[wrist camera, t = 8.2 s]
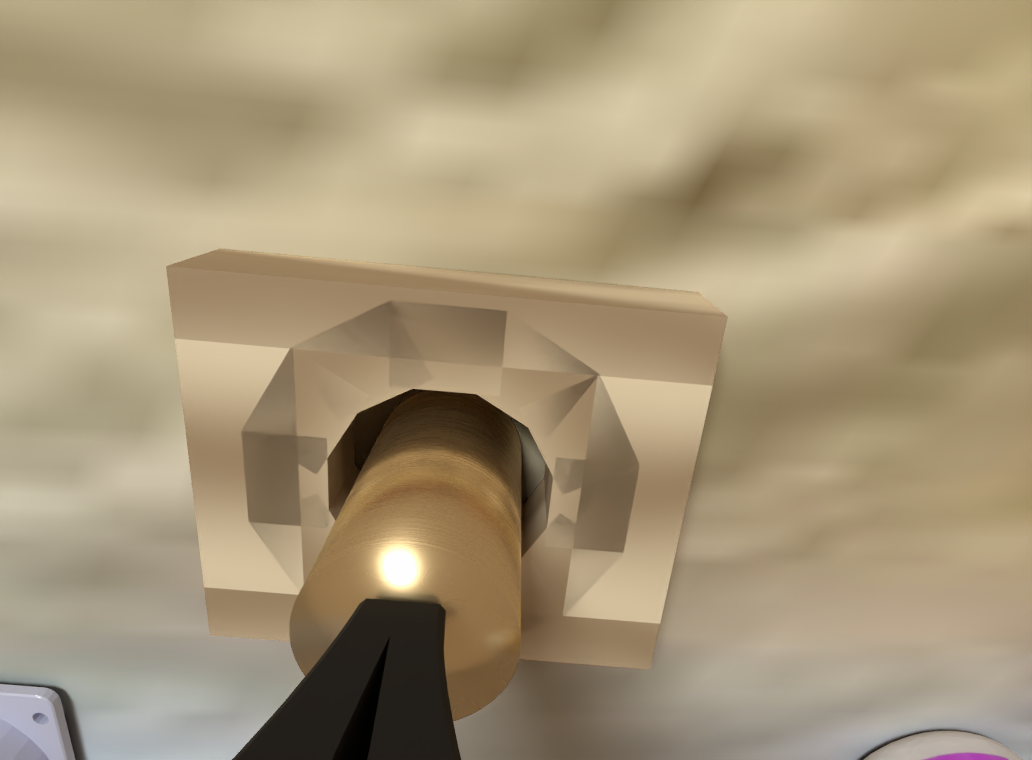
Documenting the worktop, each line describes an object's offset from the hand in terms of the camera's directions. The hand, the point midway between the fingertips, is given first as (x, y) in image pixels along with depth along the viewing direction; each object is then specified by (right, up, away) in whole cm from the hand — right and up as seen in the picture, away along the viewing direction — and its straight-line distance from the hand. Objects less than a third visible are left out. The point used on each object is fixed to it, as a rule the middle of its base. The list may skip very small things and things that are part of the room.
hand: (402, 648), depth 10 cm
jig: (0, +3, +7) cm, 7 cm away
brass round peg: (0, +2, +7) cm, 7 cm away
